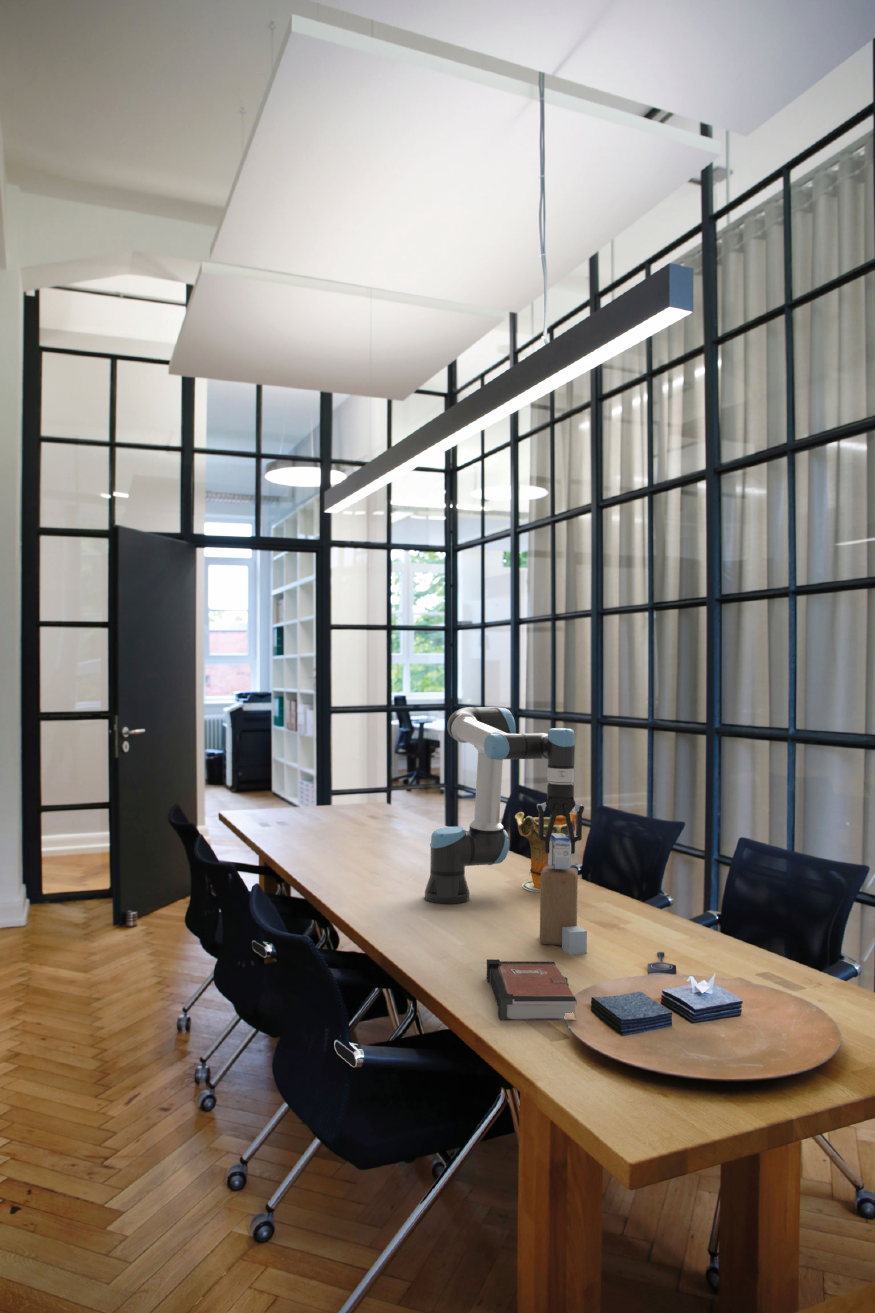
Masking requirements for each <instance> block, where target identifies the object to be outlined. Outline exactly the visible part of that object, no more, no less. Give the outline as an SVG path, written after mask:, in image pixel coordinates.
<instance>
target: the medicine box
mask: <svg viewBox="0 0 875 1313" xmlns="http://www.w3.org/2000/svg"><path fill="white" fill-rule="evenodd" d="M550 841H551V842H552V866H553V867H554V868H555V869H570V868H571V866H570V838H568V837H567V836H566V835H565V834H561V833H552V834H551V838H550Z"/></svg>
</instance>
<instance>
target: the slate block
mask: <svg viewBox="0 0 875 1313" xmlns="http://www.w3.org/2000/svg"><path fill="white" fill-rule="evenodd" d="M587 934H588V931H587V930H586V929H584V928H583V927H581V926H579V925H577V926H572V927H562V945H561V949H562V950H563V951H564V952H565V953H566V954H568V955H582V954H583V955H585V954H587V952H588V951H587V950H588V949H587V947H588V946H587V945H588V943H587V941H588V935H587Z"/></svg>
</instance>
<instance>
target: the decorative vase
mask: <svg viewBox="0 0 875 1313" xmlns="http://www.w3.org/2000/svg"><path fill="white" fill-rule="evenodd" d="M569 814H570V819H571V823H572V828H573V832H576V813H573V812H570V813H569ZM514 819H515V821H516V823H517V830H518V833H519V835H520V836H521V837H524V838H526V839H527V840H528V842H529V847H530V871H529V875H528V876H531V880H532V881H528V879H529V878H528V879H527V881H525V882H522V884H521V888H523V889H524V890H527V891H530V892H535V893H540V884H541V873H542V870H543V868H544V867H545V866H549V864H548V853H545V841H543V840H540V839H539V837H538V824H539V816H538V817H536V816H535V817H533V816H530V815H528V816H526V817H525V813H524V812H523V811H519V812H517V813H516V814H515V815H514ZM549 819H550V816H549V817H547V816H544V836H545V835H546V831H547V827H548V823H549ZM552 833H561V834H565V835H566V836H567V837H568V838H569V834H568V829H567V825H566V820H565V817H564V816H562V815H560V816H556V819H555V822H554V826H553V830H552ZM530 874H531V875H530Z"/></svg>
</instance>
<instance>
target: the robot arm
mask: <svg viewBox="0 0 875 1313" xmlns="http://www.w3.org/2000/svg"><path fill="white" fill-rule="evenodd" d="M446 727H447V728H446V729H447V732H448V734H449V736H450V737H451V738H452V739H453V740H455V741H457V742H458V743H462V744H466V743H467V744H471V745H473V747H474V748H475V749H476V750H477V766H476V785H475V802H474V803H475V804H474V817H473V818H474V819H473V820H472V821H471V822H470V823H469V827H468V828H469V829H468V830H466V828H465V827H463V826H446V827H442V828H441V827H440V828H438V829H435V830H434V831H433V832H432V833H431V836H430V845H429V846H430V865H429V866H430V867H429V869H430V870H429V871H430V874H429V877H428V881H427V884H426V886H425V890H424V899H425V901H428V902H432V903H435V904H443V905H445V904H448V905H449V904H451V905H452V904H462V903H465V902H467V901H469V900H470V890H469V886H468V881H467V879H466V871H465V870H466V867H469V866H471V867H473V866H485V865H486V866H493V865H497V864H501V863H503V862H504V860H506V858H507V856H508V853H509V849H510V840H509V834H508V832H507V831H506V829H504V825H503V824H502V823H501V822H500V816H501V814H500V813H501V812H500V811H501V800H502V799H501V798H502V782H503V781H502V779H503V778H502V777H503V760H547V781H548V783H547V785H546V787H547V791H546V792H547V793H546V800H545V802H542V803H537V804H536V809H537V812H538V817H539V824H538V837H539V839H540V840H543V841H545V853H548V864H549V866H552V842H551V841H550V838H551V834H552V830H553V826H554V822H555V819H556V816H560V815H562V816H564V817H565V820H566V825H567V829H568V834H569V838H570V867H572V855H574V854H575V853H576V842H580V841H581V840H582V838H583V837H582V836H583V834H582V833H583V832H582V831H583V830H582V829H583V828H582V827H583V813H584V811H585V806H584V805H583V804H578V803H576V800H575V797H574V796H575V792H574V791H575V785H574V784H573V783H574V782H575V752H576V750H575V749H576V748H575V745H576V742H575V732H574V729H571V728H562V727H561V728H559V727H558V728H557V727H555V728H549V730H548V733H546V732H534V733H517V732H516V731H517V730H516V728H517V727H516V722H515V718H514V716H513V714H512V712H511V711H510V710H509V709H508V708H505V707H497V706H486V707H485V706H484V707H482V706H481V707H479V706H475V707H471V706H468V707H467V706H465V707H462V708H459V709H458V710H457V709H456V710H455V711H454V712H453V713H452V714H451V715H450V716H449V718H448V720H447V726H446ZM546 807H547V809H548V810H549V812H550V814H549V817H550V819H549V823H548V827H547V831H546V835H545V836H544V817H545V813H544V812H545V811H546ZM573 809H574V810H575V811H576V813H575V814H576V825H575V831H574V832H575V833H574V832H573V828H572V823H571V819H570V814H569V813H572V810H573Z"/></svg>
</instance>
